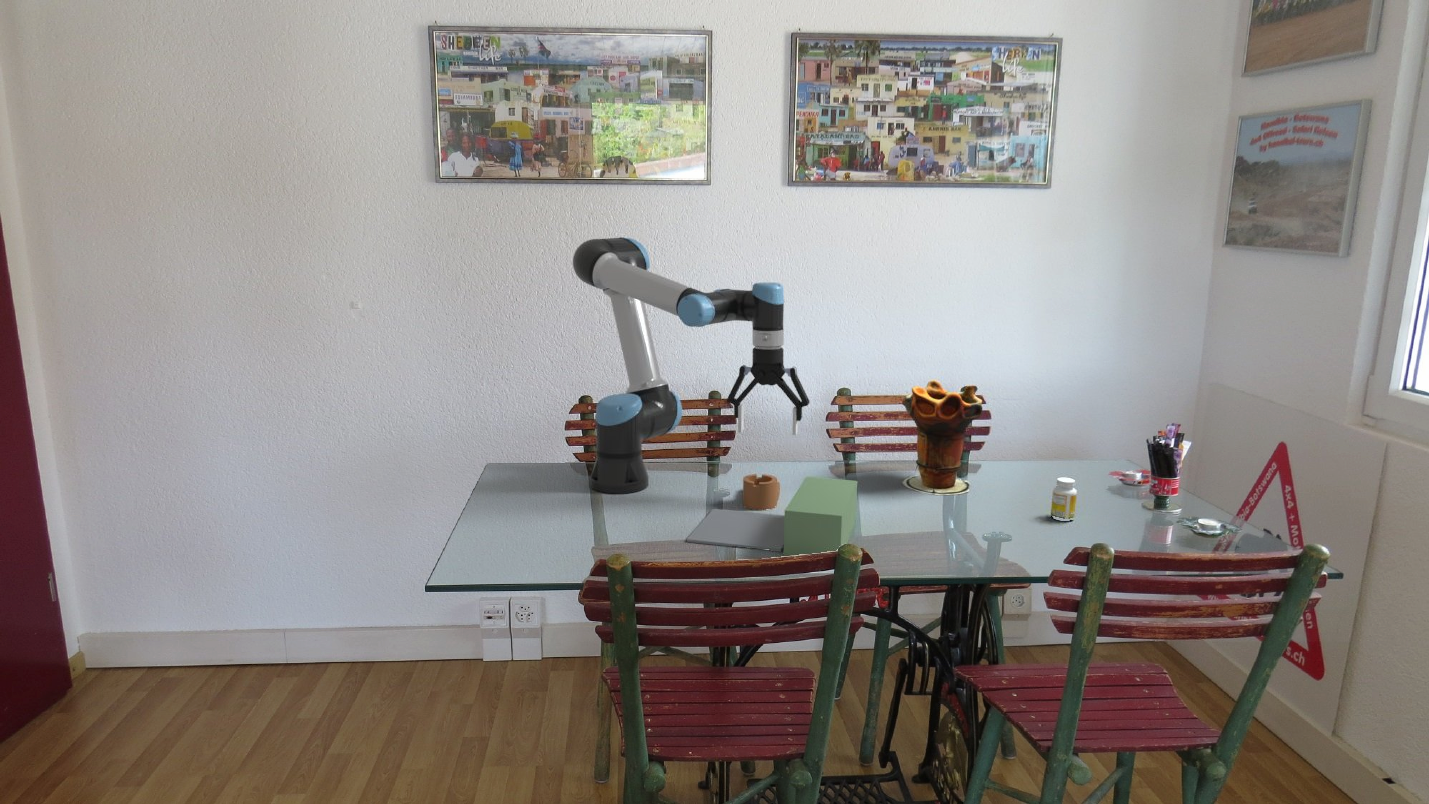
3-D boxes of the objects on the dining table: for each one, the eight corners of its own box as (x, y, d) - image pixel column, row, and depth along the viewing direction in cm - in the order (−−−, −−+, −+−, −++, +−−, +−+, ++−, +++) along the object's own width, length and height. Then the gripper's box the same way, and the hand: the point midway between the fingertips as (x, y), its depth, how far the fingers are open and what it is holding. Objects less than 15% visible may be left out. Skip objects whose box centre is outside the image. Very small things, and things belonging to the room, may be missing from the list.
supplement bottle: (1054, 522, 226) (1058, 482, 224) (1047, 514, 231) (1050, 476, 229) (1077, 522, 226) (1081, 483, 224) (1069, 515, 231) (1073, 476, 229)
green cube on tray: (684, 544, 209) (684, 500, 207) (715, 508, 233) (715, 468, 231) (840, 561, 200) (841, 515, 198) (855, 522, 225) (857, 480, 223)
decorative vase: (981, 474, 263) (987, 375, 255) (974, 503, 242) (981, 396, 234) (904, 467, 269) (908, 370, 262) (891, 495, 248) (895, 390, 241)
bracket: (775, 512, 232) (775, 484, 230) (740, 510, 233) (741, 482, 232) (780, 490, 249) (781, 464, 248) (748, 488, 250) (749, 462, 249)
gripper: (714, 347, 232) (715, 433, 236) (816, 350, 226) (815, 438, 230) (721, 343, 239) (722, 426, 243) (821, 346, 233) (820, 431, 237)
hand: (767, 432), depth 237 cm, fingers open, 13 cm apart
